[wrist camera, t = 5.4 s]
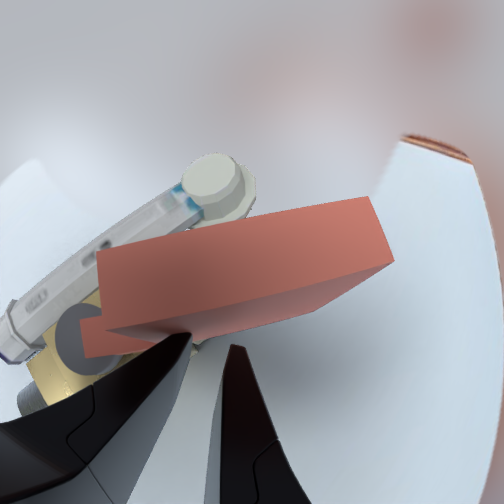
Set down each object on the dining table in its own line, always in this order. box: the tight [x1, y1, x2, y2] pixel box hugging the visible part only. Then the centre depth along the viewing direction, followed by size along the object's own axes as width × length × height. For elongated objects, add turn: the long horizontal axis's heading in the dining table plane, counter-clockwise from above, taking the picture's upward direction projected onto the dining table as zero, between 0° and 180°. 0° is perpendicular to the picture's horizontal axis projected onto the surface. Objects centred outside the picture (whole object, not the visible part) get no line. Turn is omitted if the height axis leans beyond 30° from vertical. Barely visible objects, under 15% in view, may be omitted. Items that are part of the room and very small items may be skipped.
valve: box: [17, 289, 208, 416], centre depth 15 cm, size 16×5×9 cm, turn 129°
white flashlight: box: [0, 153, 256, 365], centre depth 20 cm, size 5×7×25 cm
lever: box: [55, 196, 395, 376], centre depth 8 cm, size 11×3×7 cm, turn 105°
